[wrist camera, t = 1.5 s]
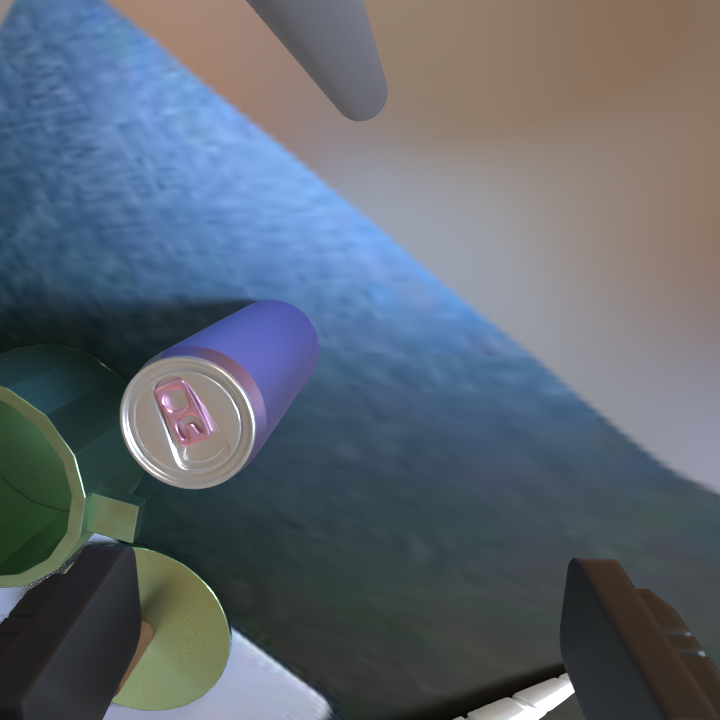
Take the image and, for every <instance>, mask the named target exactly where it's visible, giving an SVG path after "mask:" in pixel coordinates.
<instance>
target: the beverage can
mask: <svg viewBox="0 0 720 720" xmlns="http://www.w3.org/2000/svg"><path fill="white" fill-rule="evenodd" d="M318 357H319V342H318V337H317V334H316V331H315V329H314V327H313V325H312V323H311V322H310V320H309V319H308V318H307V317H306V316H305V315H304V314H303V313H302V312H301V311H300V310H298V309H297V308H295V307H294V306H292V305H290V304H288V303H285V302H281V301H276V300H263V301H258V302H255V303H252V304H250V305H248V306H246V307H244V308H242V309H240V310H238V311H237V312H235V313H233V314H231V315H229V316H227V317H226V318H224V319H222V320H220V321H218V322H216V323H214V324H213V325H211V326H209V327H207V328H205V329H203V330H201V331H200V332H198V333H196V334H194V335H192V336H190V337H189V338H187V339H185V340H183V341H181V342H179V343H177V344H176V345H174V346H172V347H170V348H168V349H166V350H164V351H163V352H161V353H159V354H157V355H156V356H154V357H153V358H151V359H150V360H149V361H147V362H146V363H145V364H144V365H143V366H142V368H141V369H140V370H139V372H138V373H137V374H136V375H135V376H134V377H133V379H132V380H131V381H130V383H129V384H128V386H127V388H126V390H125V392H124V394H123V397H122V401H121V405H120V427H121V432H122V436H123V439H124V441H125V444H126V446H127V448H128V450H129V451H130V453H131V455H132V456H133V458H134V459H135V460H136V461H137V463H138V464H139V465H140V466H141V467H142V468H143V469H144V470H146V471H147V472H148V473H149V474H151V475H152V476H153V477H155V478H157V479H158V480H160V481H162V482H164V483H167V484H169V485H172V486H176V487H180V488H186V489H202V488H208V487H212V486H215V485H218V484H220V483H223V482H225V481H226V480H228V479H230V478H231V477H232V476H234V475H235V474H237V473H238V472H240V471H241V470H243V469H244V468H245V467H246V466H248V465H249V464H250V463H251V461H252V460H253V459H254V458H255V456H256V455H257V454H258V452H259V451H260V449H261V448H262V446H263V445H264V443H265V442H266V440H267V439H268V437H269V436H270V434H271V433H272V432H273V430H274V429H275V427H276V426H277V424H278V423H279V421H280V420H281V418H282V417H283V415H284V414H285V412H286V411H287V410H288V408H289V407H290V405H291V404H292V402H293V401H294V399H295V398H296V396H297V395H298V393H299V392H300V390H301V389H302V388H303V386H304V385H305V383H306V382H307V380H308V379H309V377H310V376H311V374H312V373H313V371H314V369H315V367H316V364H317V361H318Z"/></svg>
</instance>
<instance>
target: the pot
mask: <svg viewBox="0 0 720 720" xmlns="http://www.w3.org/2000/svg"><path fill="white" fill-rule="evenodd" d="M127 386H128V382H127V381H126V380H125V379H124V378H123V377H122V376H121V375H120V374H119V373H118V372H117V371H116V370H115V369H114V368H113V367H111V366H110V365H109V364H108V363H106V362H105V361H103V360H102V359H100V358H98V357H97V356H95V355H93V354H91V353H89V352H87V351H84V350H81V349H78V348H76V347H72V346H68V345H63V344H52V343H46V344H35V345H30V346H26V347H19V348H14V349H11V350H8V351H5V352H2V353H0V588H8V587H21V586H27V585H29V584H31V583H33V582H35V581H36V580H38V579H40V578H42V577H44V576H46V575H48V574H49V573H51V572H53V571H55V570H57V569H58V568H60V567H61V566H62V565H63V564H64V563H65V562H66V561H67V560H68V559H69V558H70V557H71V556H72V555H73V554H74V553H75V552H76V551H77V550H78V549H79V548H80V547H81V546H82V545H83V544H84V543H85V542H86V541H87V540H88V539H89V538H90V537H91V536H92V535H93V534H94V533H97V534H101V535H104V536H108V537H111V538H115V539H118V540H122V541H125V542H129V543H133V542H134V541H135V540H136V538H137V537H138V536H139V535H140V531H141V525H142V519H143V514H144V508H145V502H146V499H145V498H142V497H138V496H135V495H131V494H132V493H133V492H134V491H135V490H136V488H137V487H138V485H139V484H140V482H141V480H142V479H143V477H144V474H145V472H146V470H144V469H143V468H142V467H141V466H140V465H139V464H138V463H137V461H136V460H135V459H134V458H133V456H132V455H131V453H130V451H129V450H128V448H127V446H126V444H125V441H124V439H123V436H122V432H121V427H120V405H121V401H122V397H123V394H124V392H125V390H126V388H127Z"/></svg>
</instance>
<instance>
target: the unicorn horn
mask: <svg viewBox="0 0 720 720" xmlns="http://www.w3.org/2000/svg"><path fill="white" fill-rule="evenodd" d="M574 692H575V691H574V689H573V686H572V684H571V681H570V679H569V676H568V674H567V673H565V674H562V675H561V676H559V678H552V679H549V680H547V681H544V682H542V683H539V684H537V685H534V686H532V687H529V688H527V689H524V690H522V691H519V692H517V693H515V694H514V695H513V696H512V698H508V697H506V698H503V699H501V700H498V701H496V702H493V703H491V704H488V705H486V706H483V707H481V708H479V709H476V710H474V711H472V712H469V713H468V718H465V719H464V718H463V717H461V716H460V717H458V718H455V719H453V720H538V719H540V718H541V717H542V716H544V715H545V714H546V712H547V711H550V710H552V709H553V708H554V707H556V706H557V705H558V704H560V703H561V702H562V701H564V700H565V699H566V698H567V697H569V696H570V695H571V694H572V693H574Z"/></svg>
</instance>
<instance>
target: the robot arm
mask: <svg viewBox="0 0 720 720" xmlns="http://www.w3.org/2000/svg"><path fill="white" fill-rule="evenodd" d="M141 624H142V617H141V606H140V596H139V585H138V575H137V565H136V556H135V552H134V550H133V548H132V547H129V546H88V547H86V548H85V549H84V550H83V552H82V553H81V554H80V556H79V557H78V558H77V559H76V561H75V562H74V563H73V565H72V566H71V567H70V568H69V570H68V571H67V572H66V573H54V574H53V575H51V576H50V577H48V578H47V579H45V580H44V581H42V582H41V583H40V584H38V585H37V586H35V587H34V588H32V589H31V590H29V591H28V592H27V593H26V594H25V595H24V596H23V598H22V599H21V600H20V601H19V602H18V604H17V605H16V606H15V607H14V608H13V610H12V611H11V612H10V613H9V617H8V618H5V619H4V620H3V622H2V623H1V624H0V720H102V719H103V717H104V715H105V713H106V711H107V709H108V707H109V705H110V703H111V701H112V699H113V697H114V695H115V693H116V691H117V689H118V687H119V685H120V683H121V681H122V679H123V677H124V675H125V673H126V671H127V669H128V667H129V665H130V663H131V661H132V659H133V657H134V655H135V653H136V650H137V647H138V643H139V639H140V634H141ZM560 647H561V654H562V659H563V663H564V666H565V669H566V671H567V674H568V676H569V679H570V681H571V684H572V686H573V689H574V691H575V694H576V696H577V699H578V701H579V704H580V706H581V709H582V711H583V714H584V716H585V718H586V720H720V672H719V671H718V669H717V668H716V667H715V665H714V664H713V662H712V661H711V660H710V658H709V657H706V656H705V651H704V650H703V648H702V647H701V646H700V644H699V643H698V641H697V640H696V639H695V637H692V636H691V632H690V630H689V629H688V628H687V626H686V625H685V623H684V622H683V621H682V619H681V618H680V616H679V615H678V614H677V612H676V611H675V609H674V608H672V607H671V606H670V605H668V604H667V603H666V602H664V601H663V600H662V599H661V598H659V597H658V596H657V595H655V594H654V593H653V592H651V591H650V590H649V589H636V588H635V587H634V585H633V584H632V582H631V581H630V579H629V578H628V576H627V575H626V573H625V572H624V570H623V568H622V567H621V565H620V564H619V563H618V562H617V561H616V560H614V559H578V558H573V559H572V560H571V561H570V563H569V566H568V571H567V579H566V587H565V594H564V602H563V610H562V617H561V625H560Z"/></svg>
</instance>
